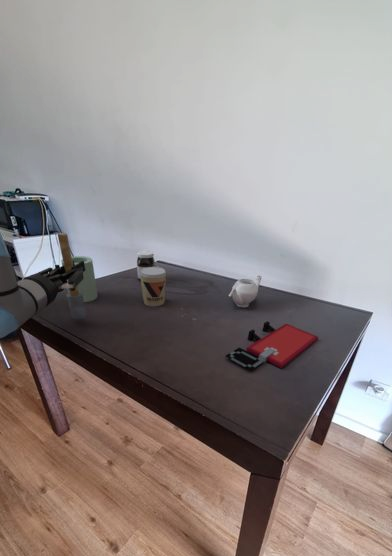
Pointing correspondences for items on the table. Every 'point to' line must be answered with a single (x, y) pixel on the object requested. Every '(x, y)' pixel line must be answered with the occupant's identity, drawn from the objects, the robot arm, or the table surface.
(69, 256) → the bottle brush
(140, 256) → the spread jar
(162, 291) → the coffee cup
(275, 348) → the red board with handle
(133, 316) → the table surface
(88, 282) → the green cylindrical holder
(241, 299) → the teapot
